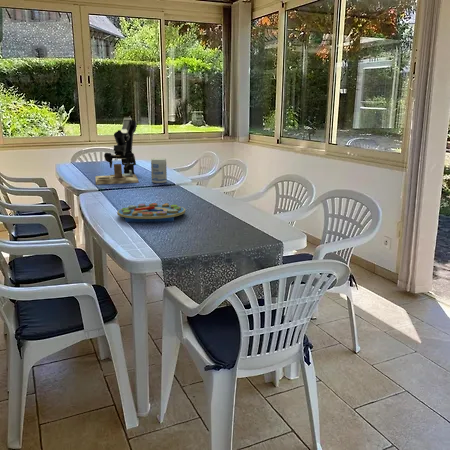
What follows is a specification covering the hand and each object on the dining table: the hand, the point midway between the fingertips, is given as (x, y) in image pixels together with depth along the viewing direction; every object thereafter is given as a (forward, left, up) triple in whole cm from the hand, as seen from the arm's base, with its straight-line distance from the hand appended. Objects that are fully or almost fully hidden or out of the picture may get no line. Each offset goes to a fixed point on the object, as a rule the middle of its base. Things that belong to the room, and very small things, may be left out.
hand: (117, 167), depth 279 cm
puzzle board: (+1, -5, -9) cm, 10 cm away
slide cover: (-6, -11, -7) cm, 14 cm away
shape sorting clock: (-10, +89, -10) cm, 90 cm away
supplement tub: (-25, +7, -9) cm, 27 cm away
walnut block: (0, 0, -7) cm, 7 cm away
